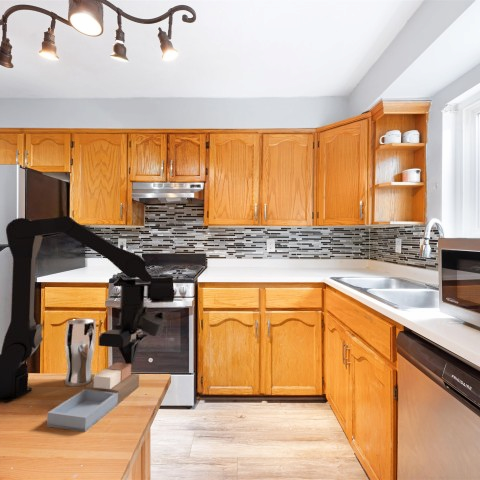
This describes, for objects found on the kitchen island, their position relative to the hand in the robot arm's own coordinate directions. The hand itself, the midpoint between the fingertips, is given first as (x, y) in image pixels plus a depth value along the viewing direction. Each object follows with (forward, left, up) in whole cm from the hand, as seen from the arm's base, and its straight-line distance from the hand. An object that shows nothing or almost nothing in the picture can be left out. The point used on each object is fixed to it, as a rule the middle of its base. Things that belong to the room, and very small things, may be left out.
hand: (129, 365), depth 78 cm
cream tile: (0, -9, -1) cm, 10 cm away
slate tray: (0, -17, -4) cm, 17 cm away
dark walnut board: (0, -7, -4) cm, 8 cm away
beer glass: (-12, -3, -4) cm, 13 cm away
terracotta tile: (0, -5, -1) cm, 5 cm away
